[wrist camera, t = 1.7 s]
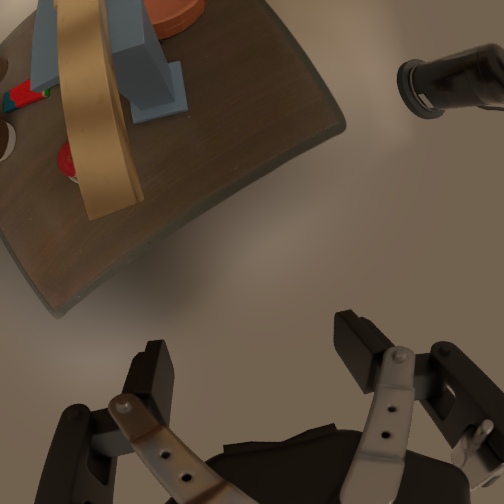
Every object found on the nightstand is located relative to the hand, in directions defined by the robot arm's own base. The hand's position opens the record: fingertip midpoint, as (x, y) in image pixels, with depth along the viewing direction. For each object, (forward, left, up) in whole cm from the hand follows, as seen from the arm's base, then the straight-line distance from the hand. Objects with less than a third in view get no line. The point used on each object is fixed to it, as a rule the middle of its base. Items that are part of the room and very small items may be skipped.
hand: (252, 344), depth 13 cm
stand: (0, -22, -31) cm, 38 cm away
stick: (+1, -17, -3) cm, 17 cm away
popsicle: (+18, -36, -31) cm, 51 cm away
